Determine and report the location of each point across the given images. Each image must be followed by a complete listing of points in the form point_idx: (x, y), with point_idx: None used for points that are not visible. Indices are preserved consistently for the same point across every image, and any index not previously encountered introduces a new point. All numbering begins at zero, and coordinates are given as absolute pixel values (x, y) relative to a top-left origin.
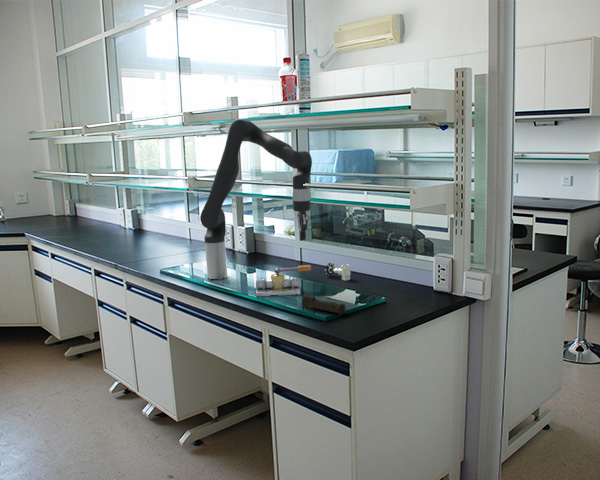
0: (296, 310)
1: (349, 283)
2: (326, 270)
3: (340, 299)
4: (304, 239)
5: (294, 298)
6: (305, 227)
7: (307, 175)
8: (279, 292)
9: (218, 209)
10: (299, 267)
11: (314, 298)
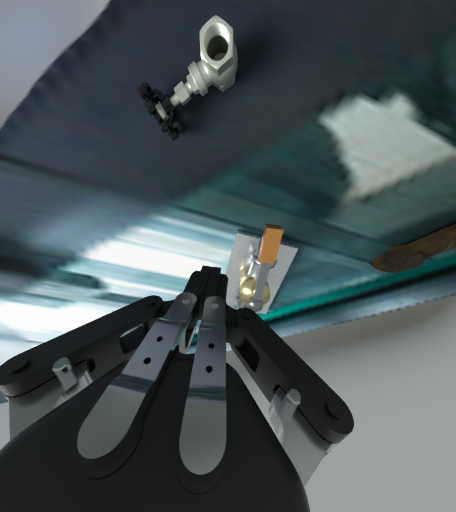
0: (386, 278)
1: (274, 81)
2: (175, 132)
3: (397, 175)
4: (220, 272)
5: (315, 262)
6: (253, 333)
7: None
8: (280, 282)
9: None
10: (274, 261)
11: (423, 257)
